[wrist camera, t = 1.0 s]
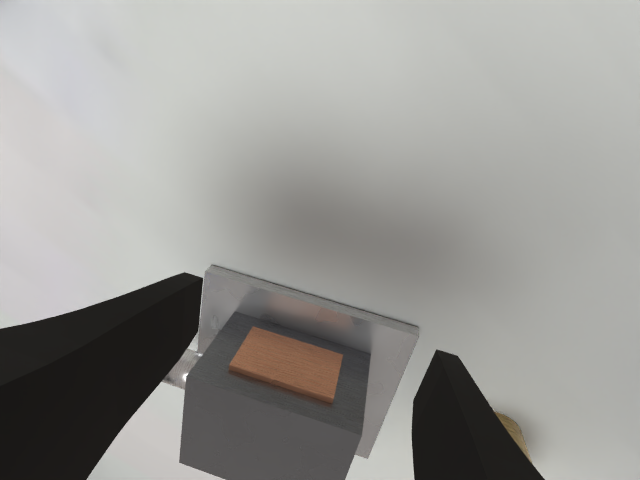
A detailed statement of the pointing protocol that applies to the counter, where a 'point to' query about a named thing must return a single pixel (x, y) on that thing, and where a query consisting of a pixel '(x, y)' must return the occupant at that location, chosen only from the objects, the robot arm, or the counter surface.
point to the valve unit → (285, 381)
